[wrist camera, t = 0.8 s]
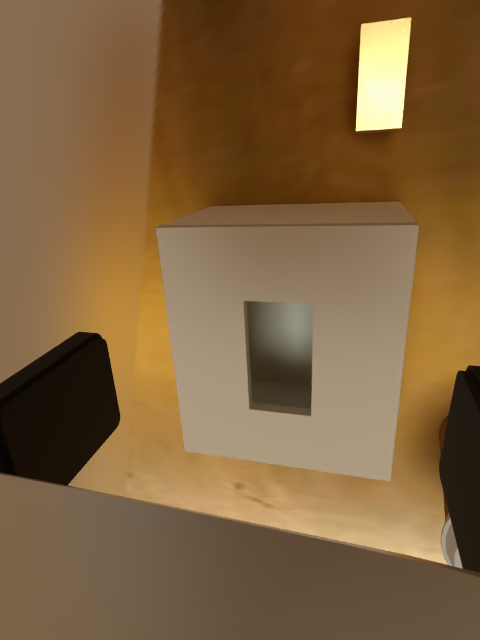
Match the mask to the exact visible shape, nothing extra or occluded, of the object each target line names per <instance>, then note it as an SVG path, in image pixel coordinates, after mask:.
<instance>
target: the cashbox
mask: <svg viewBox="0 0 480 640" xmlns="http://www.w3.org/2000/svg"><path fill="white" fill-rule="evenodd" d="M418 231H419V224H418V223H417V222H416V221H415V219H414V218H413V217H412V216H411V214H410V213H409V212H408V211H407V209H406V208H405V207H404V206H403V204H402V203H401V202H400V201H397V202H357V203H316V204H275V205H234V206H211V207H208V208H206V209H203V210H201V211H198V212H195V213H193V214H190V215H188V216H185V217H182V218H180V219H177V220H175V221H172V222H169V223H167V224H164V225H162V226H159V227H156V234H157V241H158V249H159V256H160V264H161V272H162V279H163V287H164V295H165V302H166V310H167V318H168V325H169V333H170V341H171V348H172V356H173V363H174V371H175V379H176V386H177V394H178V402H179V409H180V417H181V425H182V432H183V440H184V447H185V451H188V452H195V453H201V454H208V455H215V456H222V457H228V458H235V459H242V460H249V461H256V462H262V463H269V464H276V465H283V466H289V467H296V468H303V469H310V470H316V471H323V472H330V473H337V474H343V475H350V476H357V477H364V478H371V479H377V480H384V481H390V478H391V469H392V460H393V452H394V443H395V434H396V425H397V416H398V407H399V399H400V390H401V381H402V372H403V363H404V355H405V346H406V337H407V328H408V319H409V310H410V302H411V293H412V284H413V275H414V266H415V257H416V249H417V240H418Z"/></svg>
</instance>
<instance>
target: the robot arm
mask: <svg viewBox="0 0 480 640" xmlns="http://www.w3.org/2000/svg"><path fill="white" fill-rule="evenodd" d="M119 421H120V412H119V406H118V402H117V395H116V390H115V385H114V380H113V374H112V369H111V364H110V358H109V352H108V348H107V343H106V341H105V340H104V339H102V337H101V335H99V334H97V333H87V332H78V333H76V334H74V335H73V336H71V337H70V338H68V339H67V340H65V341H64V342H62V343H61V344H60V345H58V346H56V347H55V348H53V349H52V350H50V351H49V352H47V353H46V354H44V355H43V356H41V357H40V358H38V359H37V360H35V361H34V362H32V363H31V364H29V365H28V366H26V367H24V368H23V369H22V370H20V371H19V372H17V373H15V374H14V375H12V376H11V377H9V378H8V379H6V380H5V381H4V382H2V383H0V640H480V366H470V365H469V366H468V367H467V369H466V371H458V373H457V376H456V381H455V386H454V391H453V396H452V401H451V406H450V411H449V416H448V422H447V427H446V432H445V437H444V442H443V447H442V452H441V457H440V463H439V472H440V479H441V483H442V487H443V491H444V495H445V499H446V503H447V507H448V511H449V515H450V519H451V523H452V527H453V531H454V535H455V539H456V543H457V547H458V551H459V555H460V559H461V564H462V568H463V569H462V568H458V567H454V566H450V565H446V564H442V563H437V562H433V561H429V560H425V559H421V558H417V557H413V556H409V555H405V554H400V553H394V552H390V551H385V550H380V549H375V548H371V547H366V546H361V545H356V544H352V543H347V542H342V541H337V540H332V539H328V538H323V537H318V536H313V535H308V534H304V533H299V532H294V531H289V530H284V529H279V528H275V527H270V526H265V525H260V524H255V523H251V522H246V521H241V520H236V519H231V518H226V517H222V516H217V515H212V514H207V513H202V512H197V511H192V510H187V509H182V508H177V507H172V506H167V505H162V504H157V503H152V502H148V501H143V500H138V499H133V498H128V497H123V496H118V495H113V494H107V493H103V492H97V491H92V490H87V489H82V488H77V487H72V486H67V485H68V484H69V483H70V482H71V480H72V479H73V478H74V477H75V476H76V474H77V473H78V472H79V471H80V470H81V469H82V468H83V466H84V465H85V464H86V463H87V462H88V461H89V460H90V458H91V457H92V456H93V455H94V454H95V453H96V451H97V450H98V449H99V448H100V447H101V445H102V444H103V443H104V442H105V441H106V440H107V439H108V437H109V436H110V435H111V434H112V433H113V432H114V430H115V429H116V428H117V426H118V424H119Z"/></svg>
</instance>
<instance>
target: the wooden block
mask: <svg viewBox="0 0 480 640" xmlns="http://www.w3.org/2000/svg"><path fill="white" fill-rule="evenodd" d="M410 26H411V18H403V19H396V20H389V21H381V22H374V23H367V24H361V39H360V58H359V78H358V98H357V118H356V134H370V133H385V132H394V131H396V130H398V129H400V128H401V127H402V116H403V105H404V94H405V82H406V71H407V60H408V49H409V37H410Z"/></svg>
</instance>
